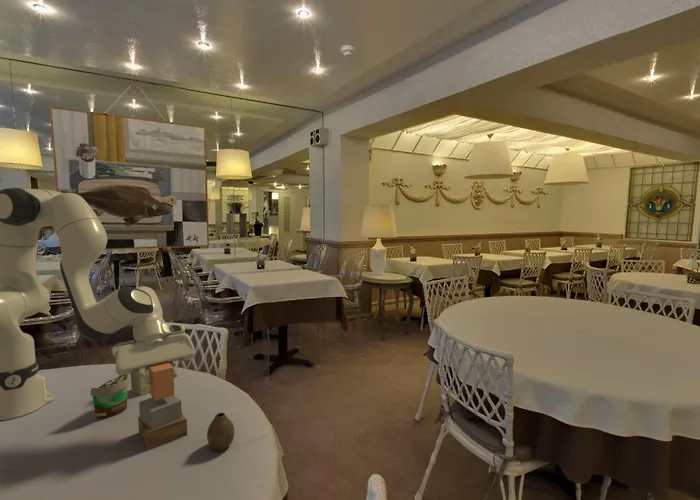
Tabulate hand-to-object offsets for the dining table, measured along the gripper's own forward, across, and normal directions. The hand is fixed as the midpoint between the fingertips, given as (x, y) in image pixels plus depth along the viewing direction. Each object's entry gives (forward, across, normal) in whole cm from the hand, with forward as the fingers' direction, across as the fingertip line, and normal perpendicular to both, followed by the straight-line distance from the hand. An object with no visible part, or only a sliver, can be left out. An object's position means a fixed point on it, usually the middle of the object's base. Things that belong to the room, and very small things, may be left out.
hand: (162, 380), depth 105 cm
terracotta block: (+3, 0, +4) cm, 4 cm away
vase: (+22, +10, 0) cm, 24 cm away
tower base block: (+11, 0, +12) cm, 16 cm away
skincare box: (-12, +1, +34) cm, 36 cm away
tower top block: (+8, -1, +8) cm, 11 cm away
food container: (-5, -8, +27) cm, 29 cm away
